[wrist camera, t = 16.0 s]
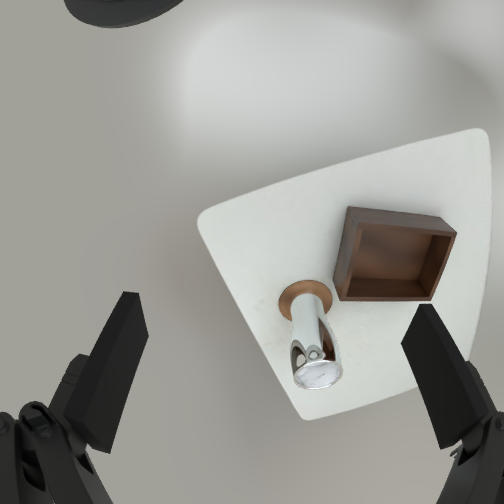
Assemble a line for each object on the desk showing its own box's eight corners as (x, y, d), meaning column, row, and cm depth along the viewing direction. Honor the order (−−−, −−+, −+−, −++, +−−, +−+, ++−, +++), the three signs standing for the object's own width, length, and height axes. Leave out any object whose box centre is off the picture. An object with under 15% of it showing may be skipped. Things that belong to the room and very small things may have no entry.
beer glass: (327, 285, 47) (347, 356, 34) (325, 317, 50) (341, 387, 37) (284, 289, 47) (291, 363, 34) (285, 320, 51) (292, 393, 38)
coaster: (281, 278, 47) (282, 280, 46) (336, 281, 47) (337, 282, 46) (276, 320, 51) (276, 322, 51) (326, 322, 51) (326, 323, 51)
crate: (347, 206, 40) (359, 222, 36) (440, 217, 40) (457, 232, 36) (332, 280, 47) (339, 301, 42) (418, 282, 47) (430, 301, 42)
